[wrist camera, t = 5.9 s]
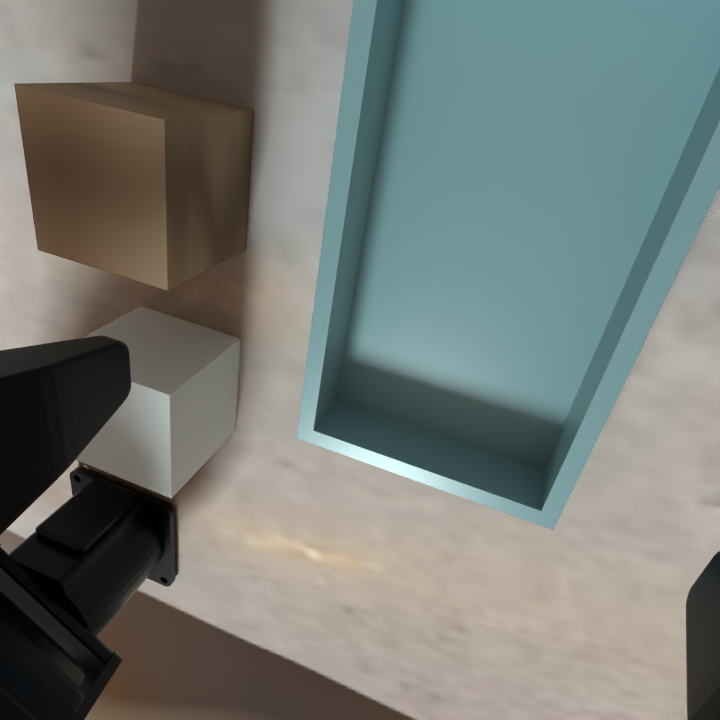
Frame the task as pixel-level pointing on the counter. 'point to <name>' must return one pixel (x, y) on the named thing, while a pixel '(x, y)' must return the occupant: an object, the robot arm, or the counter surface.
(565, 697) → the counter surface
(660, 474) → the counter surface
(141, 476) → the grey block
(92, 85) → the walnut block
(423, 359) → the tray
